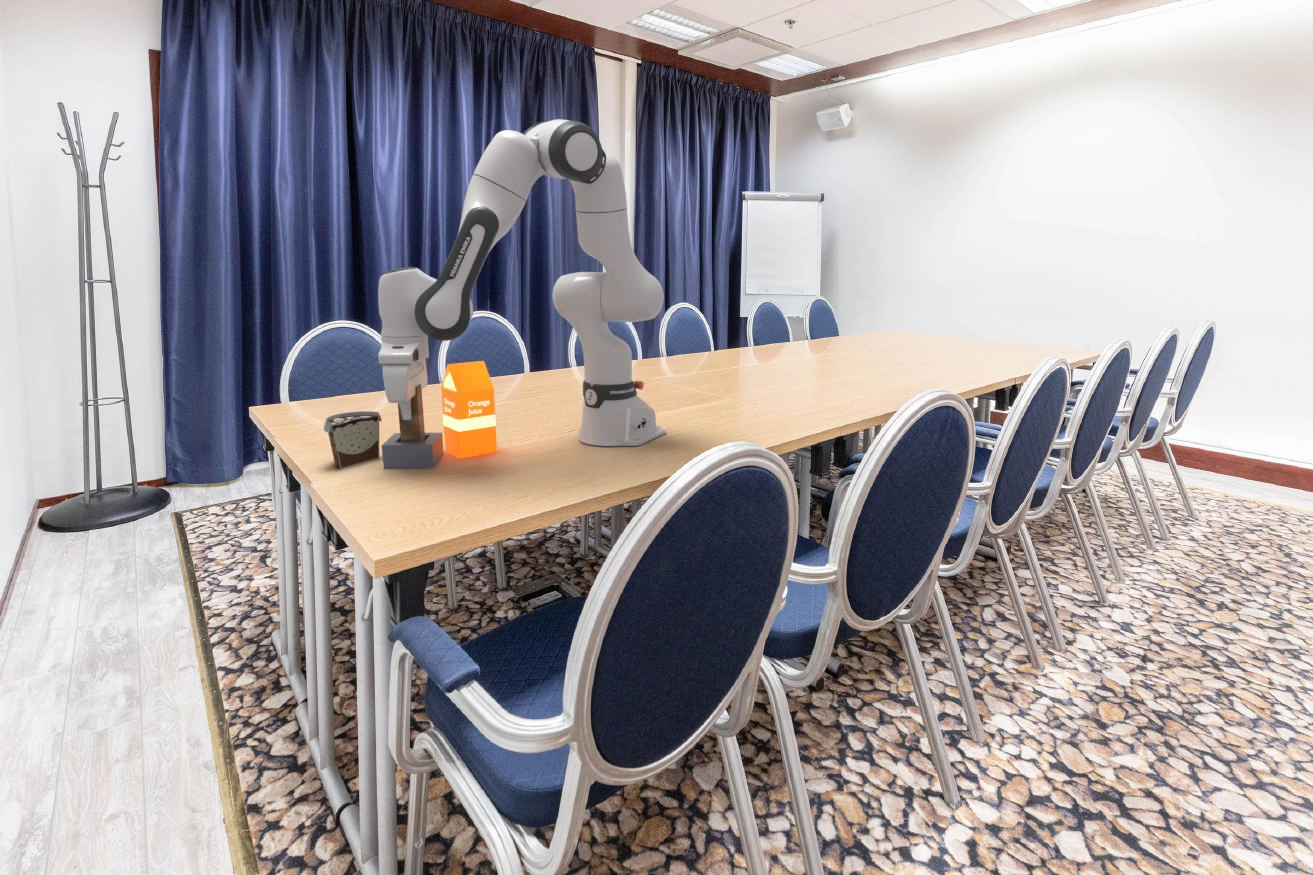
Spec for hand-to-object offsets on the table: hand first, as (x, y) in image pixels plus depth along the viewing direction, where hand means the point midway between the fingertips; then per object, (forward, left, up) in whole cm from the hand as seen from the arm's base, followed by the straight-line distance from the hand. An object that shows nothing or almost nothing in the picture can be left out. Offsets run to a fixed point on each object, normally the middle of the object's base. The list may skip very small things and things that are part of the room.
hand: (410, 416), depth 143 cm
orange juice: (-13, +2, -10) cm, 16 cm away
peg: (0, 0, -6) cm, 6 cm away
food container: (+8, -10, -10) cm, 17 cm away
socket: (0, 0, -10) cm, 10 cm away
